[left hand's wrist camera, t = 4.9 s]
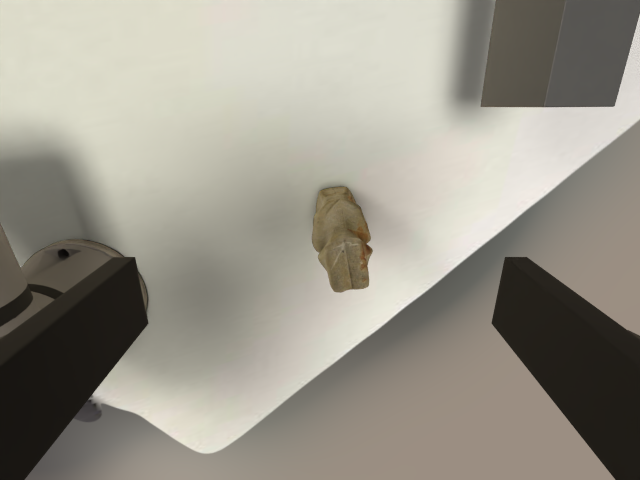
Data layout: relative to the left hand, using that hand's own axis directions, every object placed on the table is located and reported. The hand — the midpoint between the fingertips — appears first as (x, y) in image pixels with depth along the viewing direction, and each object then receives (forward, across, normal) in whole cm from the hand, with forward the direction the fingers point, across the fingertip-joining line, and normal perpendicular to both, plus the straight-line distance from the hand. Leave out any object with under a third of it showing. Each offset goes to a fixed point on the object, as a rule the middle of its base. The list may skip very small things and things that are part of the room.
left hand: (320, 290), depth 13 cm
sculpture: (+31, -2, +6) cm, 31 cm away
